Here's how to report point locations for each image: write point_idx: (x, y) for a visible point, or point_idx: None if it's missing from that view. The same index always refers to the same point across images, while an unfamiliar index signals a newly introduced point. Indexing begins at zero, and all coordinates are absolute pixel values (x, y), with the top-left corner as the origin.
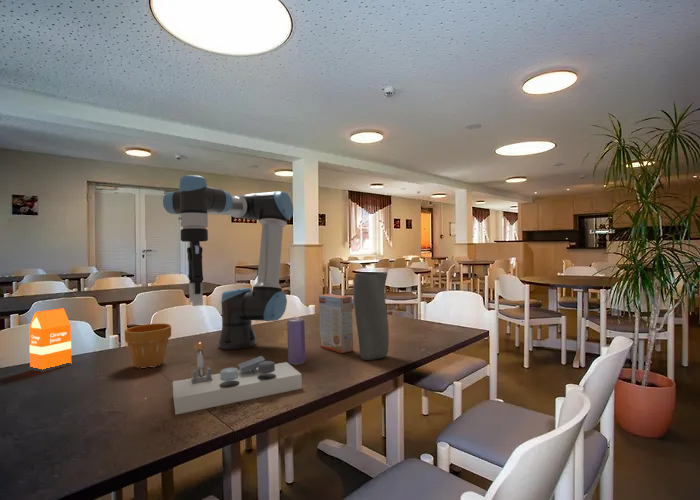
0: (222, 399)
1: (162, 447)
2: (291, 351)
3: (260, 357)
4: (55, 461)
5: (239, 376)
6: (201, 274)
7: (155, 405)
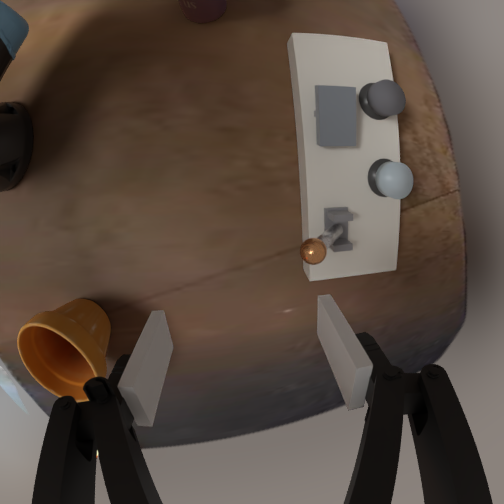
0: None
1: (450, 267)
2: (216, 5)
3: (329, 90)
4: (414, 353)
5: (349, 150)
6: (450, 394)
7: (330, 292)
